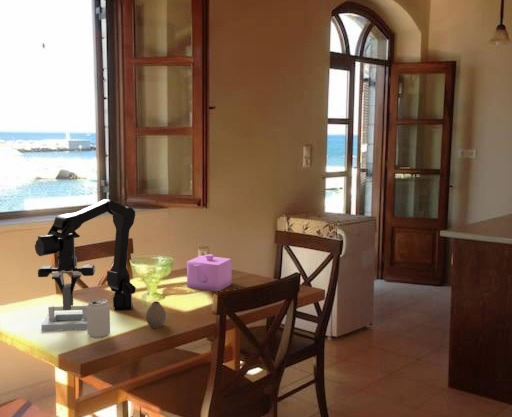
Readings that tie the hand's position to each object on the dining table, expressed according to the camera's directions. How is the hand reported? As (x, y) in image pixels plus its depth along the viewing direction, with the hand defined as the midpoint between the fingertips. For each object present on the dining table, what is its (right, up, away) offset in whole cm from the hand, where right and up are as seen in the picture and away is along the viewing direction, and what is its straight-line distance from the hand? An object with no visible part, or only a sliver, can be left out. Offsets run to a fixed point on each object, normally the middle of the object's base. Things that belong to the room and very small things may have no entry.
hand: (67, 294), depth 214 cm
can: (+14, -13, -10) cm, 21 cm away
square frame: (0, -11, +2) cm, 11 cm away
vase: (+31, -12, 0) cm, 33 cm away
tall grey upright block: (0, -5, +1) cm, 5 cm away
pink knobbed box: (+46, -4, +51) cm, 68 cm away
